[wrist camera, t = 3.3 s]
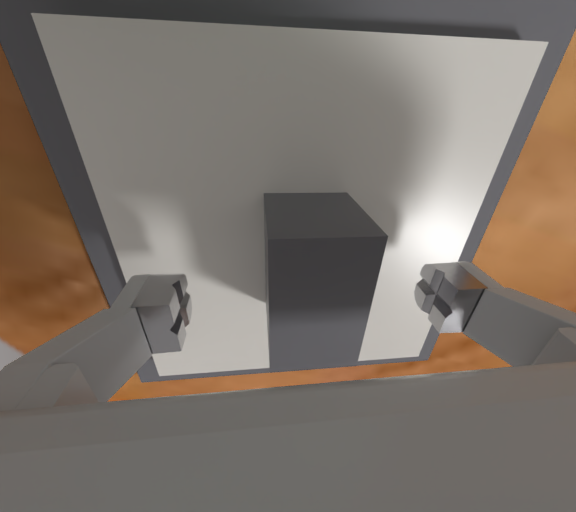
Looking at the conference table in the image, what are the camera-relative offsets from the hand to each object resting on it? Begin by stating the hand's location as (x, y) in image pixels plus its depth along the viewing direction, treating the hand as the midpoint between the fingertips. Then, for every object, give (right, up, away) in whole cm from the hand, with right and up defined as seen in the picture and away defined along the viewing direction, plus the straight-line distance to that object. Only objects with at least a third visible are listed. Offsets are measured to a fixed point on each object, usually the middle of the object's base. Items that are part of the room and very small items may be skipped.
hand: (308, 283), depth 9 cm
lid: (0, +1, +2) cm, 3 cm away
